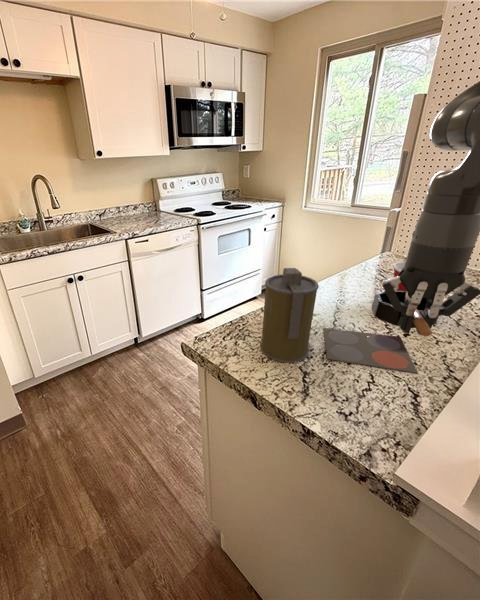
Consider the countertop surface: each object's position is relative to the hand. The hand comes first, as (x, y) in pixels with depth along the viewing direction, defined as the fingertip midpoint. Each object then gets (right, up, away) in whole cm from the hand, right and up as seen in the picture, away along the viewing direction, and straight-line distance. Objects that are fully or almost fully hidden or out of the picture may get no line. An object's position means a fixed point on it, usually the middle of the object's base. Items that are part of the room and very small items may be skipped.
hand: (412, 331), depth 57 cm
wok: (+1, +1, +3) cm, 3 cm away
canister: (-16, -6, +17) cm, 24 cm away
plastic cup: (+23, +3, +29) cm, 37 cm away
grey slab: (+2, -5, +15) cm, 16 cm away
